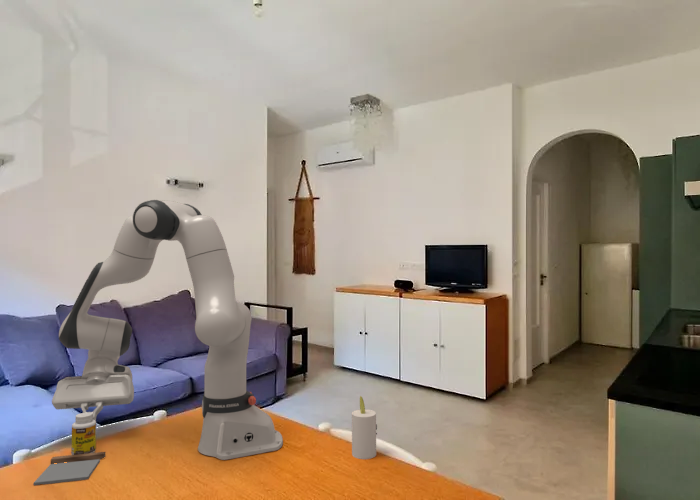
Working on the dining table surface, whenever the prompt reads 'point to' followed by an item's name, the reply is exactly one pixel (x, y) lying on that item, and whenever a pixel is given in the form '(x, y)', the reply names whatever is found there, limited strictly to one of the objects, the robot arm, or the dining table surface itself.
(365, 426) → the candle
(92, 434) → the supplement bottle
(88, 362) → the robot arm
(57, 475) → the felt tile
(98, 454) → the strip
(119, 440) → the dining table surface
